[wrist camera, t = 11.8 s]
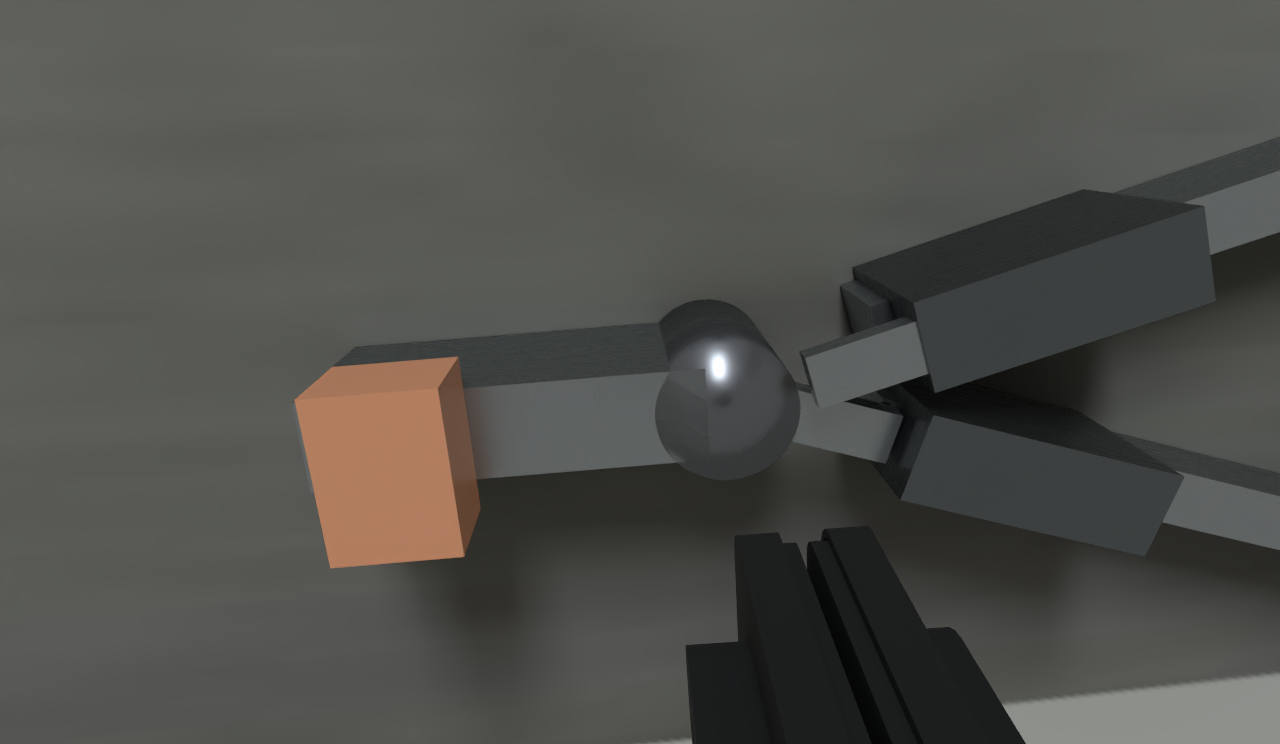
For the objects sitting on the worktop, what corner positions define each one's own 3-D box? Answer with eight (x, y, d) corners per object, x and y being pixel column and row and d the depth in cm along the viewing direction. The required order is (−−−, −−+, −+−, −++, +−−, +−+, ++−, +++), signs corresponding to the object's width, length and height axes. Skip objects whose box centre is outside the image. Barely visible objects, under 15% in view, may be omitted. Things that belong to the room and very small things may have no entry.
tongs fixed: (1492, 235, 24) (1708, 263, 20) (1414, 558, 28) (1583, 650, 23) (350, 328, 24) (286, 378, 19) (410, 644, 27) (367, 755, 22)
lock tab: (458, 356, 19) (437, 388, 17) (481, 508, 20) (464, 557, 18) (332, 366, 19) (294, 399, 17) (362, 518, 20) (330, 567, 18)
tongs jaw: (784, 370, 25) (825, 428, 20) (763, 297, 24) (800, 340, 19) (1535, 121, 23) (1773, 120, 19) (1535, 36, 23) (1782, 12, 18)
